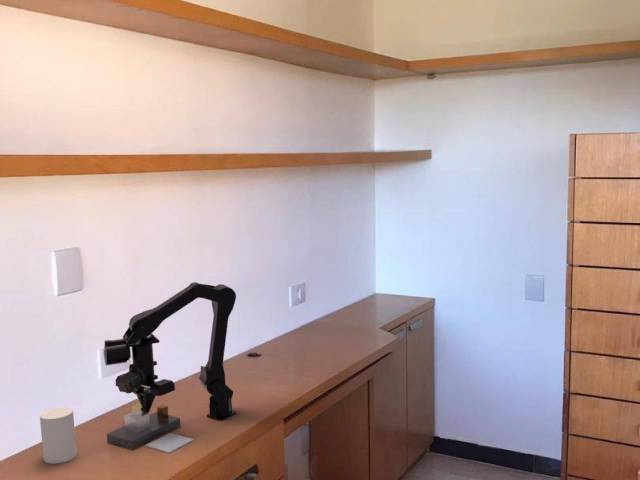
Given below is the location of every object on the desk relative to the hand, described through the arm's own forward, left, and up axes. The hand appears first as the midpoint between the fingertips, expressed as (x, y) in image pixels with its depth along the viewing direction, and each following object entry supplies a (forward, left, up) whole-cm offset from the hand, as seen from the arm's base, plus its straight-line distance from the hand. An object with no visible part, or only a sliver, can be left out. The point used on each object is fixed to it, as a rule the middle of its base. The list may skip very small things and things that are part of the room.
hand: (146, 412), depth 189 cm
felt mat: (+3, +12, -5) cm, 14 cm away
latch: (0, -3, -3) cm, 4 cm away
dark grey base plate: (+2, +1, -5) cm, 6 cm away
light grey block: (+4, +1, -3) cm, 5 cm away
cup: (+23, -8, -6) cm, 25 cm away
